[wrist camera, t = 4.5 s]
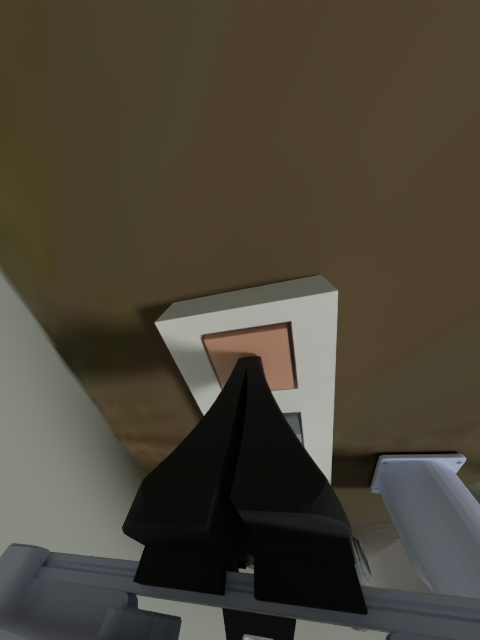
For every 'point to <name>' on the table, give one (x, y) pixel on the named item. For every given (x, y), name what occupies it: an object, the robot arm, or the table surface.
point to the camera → (360, 566)
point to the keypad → (304, 344)
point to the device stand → (257, 625)
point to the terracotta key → (253, 352)
